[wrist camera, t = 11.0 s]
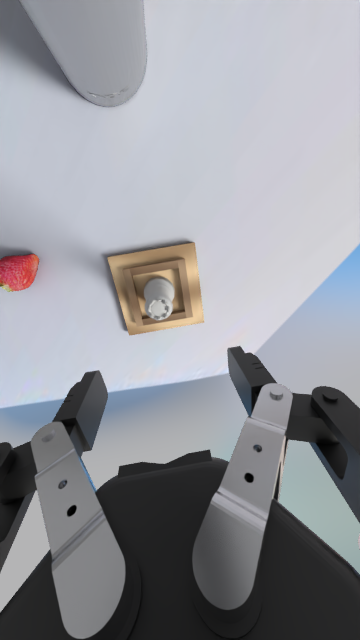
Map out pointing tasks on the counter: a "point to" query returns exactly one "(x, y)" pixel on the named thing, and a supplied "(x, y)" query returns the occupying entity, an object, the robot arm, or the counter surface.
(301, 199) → the counter surface
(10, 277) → the fruit
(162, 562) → the robot arm
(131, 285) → the display stand
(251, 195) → the counter surface
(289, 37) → the counter surface
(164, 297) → the rook chess piece
